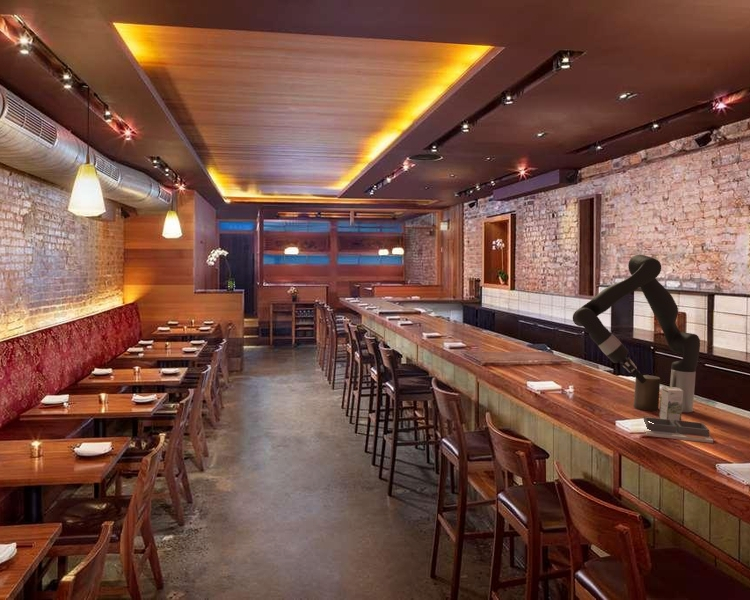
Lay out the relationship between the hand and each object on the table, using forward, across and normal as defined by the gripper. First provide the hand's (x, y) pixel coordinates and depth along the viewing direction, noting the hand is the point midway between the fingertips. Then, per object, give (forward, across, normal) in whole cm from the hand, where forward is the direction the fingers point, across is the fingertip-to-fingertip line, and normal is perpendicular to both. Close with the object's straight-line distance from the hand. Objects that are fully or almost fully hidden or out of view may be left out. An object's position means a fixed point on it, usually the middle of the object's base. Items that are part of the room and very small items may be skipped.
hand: (642, 379), depth 228 cm
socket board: (+19, -12, +4) cm, 23 cm away
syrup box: (+19, 0, +5) cm, 20 cm away
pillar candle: (+16, +25, +8) cm, 31 cm away
